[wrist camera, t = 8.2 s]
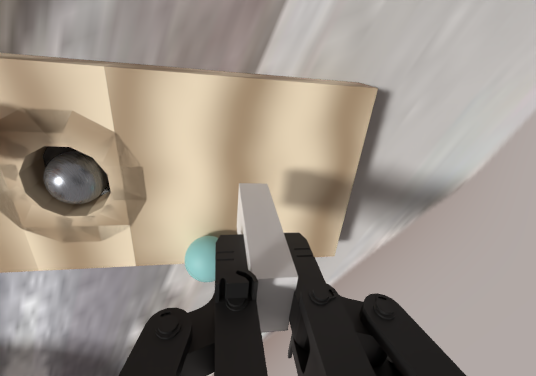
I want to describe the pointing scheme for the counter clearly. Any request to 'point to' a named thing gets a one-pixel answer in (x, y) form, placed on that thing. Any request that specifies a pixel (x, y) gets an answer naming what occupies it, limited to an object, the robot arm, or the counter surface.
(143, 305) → the counter surface
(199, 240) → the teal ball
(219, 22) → the counter surface
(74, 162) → the steel ball
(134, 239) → the maple board
